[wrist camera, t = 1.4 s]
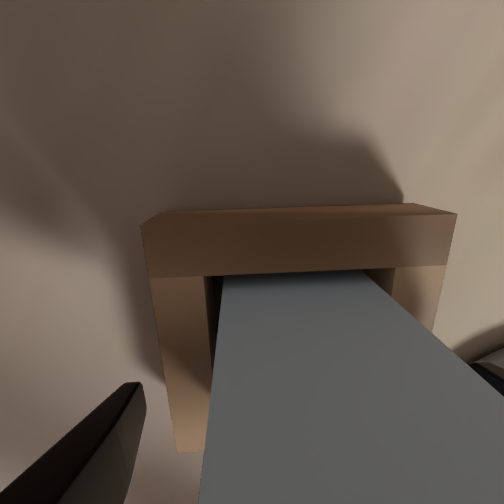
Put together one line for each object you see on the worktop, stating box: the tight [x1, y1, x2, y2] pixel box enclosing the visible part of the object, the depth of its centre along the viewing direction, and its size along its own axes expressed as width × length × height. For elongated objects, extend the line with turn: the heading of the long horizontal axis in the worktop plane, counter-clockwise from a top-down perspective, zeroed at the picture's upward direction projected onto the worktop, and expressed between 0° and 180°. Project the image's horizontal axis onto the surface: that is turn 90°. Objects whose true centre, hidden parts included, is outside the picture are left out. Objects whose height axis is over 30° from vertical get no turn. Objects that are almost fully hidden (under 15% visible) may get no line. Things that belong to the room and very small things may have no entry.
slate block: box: [198, 269, 504, 504], centre depth 6 cm, size 4×4×9 cm
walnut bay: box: [140, 203, 457, 453], centre depth 10 cm, size 8×8×2 cm
